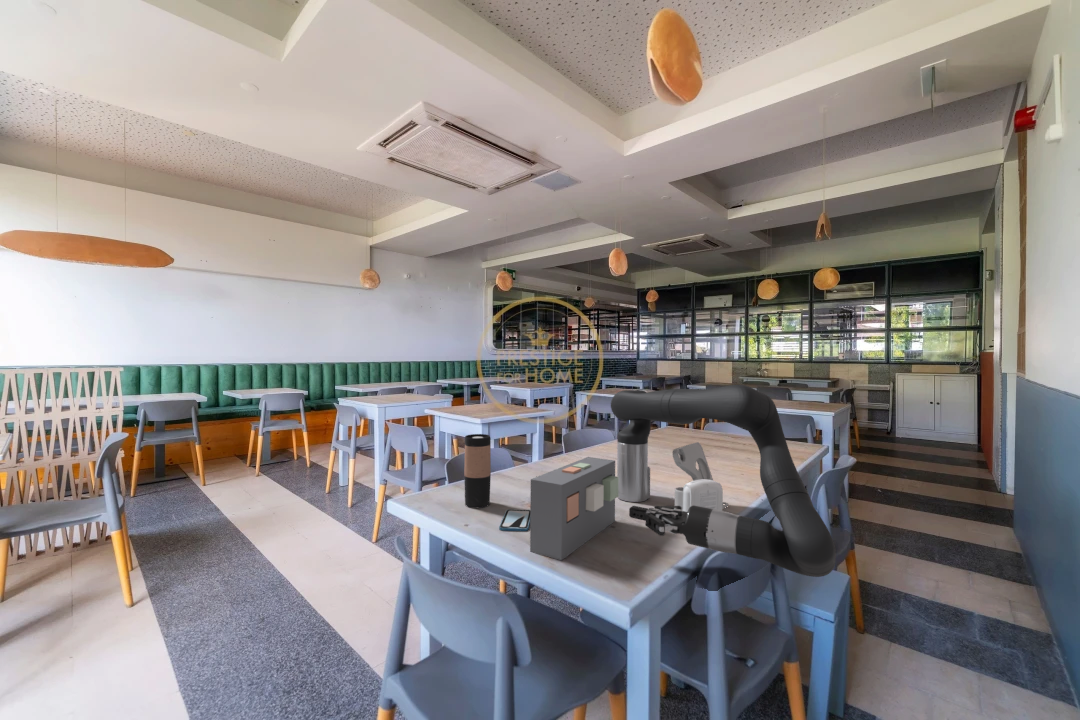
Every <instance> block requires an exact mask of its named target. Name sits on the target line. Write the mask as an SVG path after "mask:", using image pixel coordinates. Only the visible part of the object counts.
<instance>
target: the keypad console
mask: <svg viewBox="0 0 1080 720" xmlns="http://www.w3.org/2000/svg"><path fill="white" fill-rule="evenodd" d="M607 476H616V460H614V459H608V458H607V459H606V458H600V457H591V456H586V457H584V458H582V459H578V460H577V461H574V462H572V463H569V464H566V465H563V466H561V467H559V468H556V469H553V470H551V471H548V472H546V473H545V472H544V473H543V474H541V475H538V477H536V476H535V477H533V478H530V509H529V510H530V524H529V531H530V533H529V534H530V535H529V537H530V538H529V539H530V541H529V543H530V544H529V545H530V546H529V548H530V549H529V550H530V552H531V553H534V554H537V555H541V556H545V557H549V558H551V559H555V560H559V561H563V560H564V559H565V558H567V557H568V556H569V555H571V554H572V553H574V552H575V551H576V550H577V549H579V548H581V547H582V546H583V545H584V544H586V543H588V541H590V540H591V539H593V538H594V537H595V536H597V535H598V534H599V533H601V532H602V531H604V530H605V529H606V528H608V527H609V526H611V525H612V524H613V523H614V522H616V498H615V499H613V500H612V501H605V500H603V506H602V507H601V508H599V509H598V510H596V511H589V510H586V487H587V486H589V485H591V484H593V483H595V484H601V485H602V479H603V478H605V477H607ZM576 492H577V493H579V515H578V516H576V517H574V518H573V519H571V520H569V521H568V522H567V497H568V496H570V495H572V494H574V493H576Z"/></svg>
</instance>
